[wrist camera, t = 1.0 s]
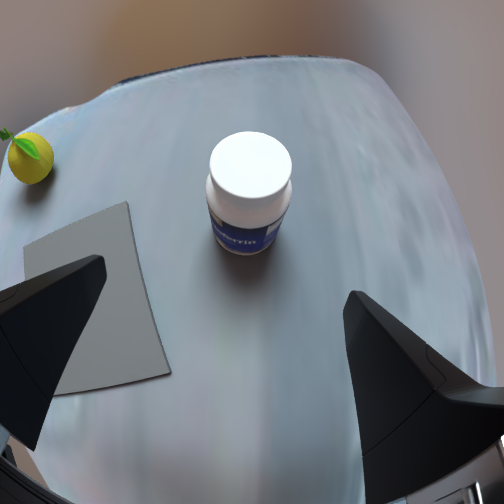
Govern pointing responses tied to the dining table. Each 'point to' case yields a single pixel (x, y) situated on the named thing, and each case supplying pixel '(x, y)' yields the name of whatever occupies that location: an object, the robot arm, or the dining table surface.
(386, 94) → the dining table surface
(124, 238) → the mat
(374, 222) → the dining table surface
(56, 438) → the dining table surface
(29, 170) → the lemon
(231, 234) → the pill bottle
